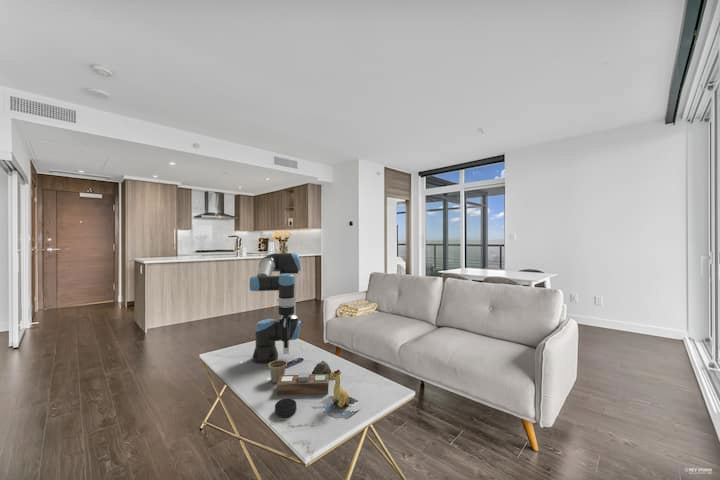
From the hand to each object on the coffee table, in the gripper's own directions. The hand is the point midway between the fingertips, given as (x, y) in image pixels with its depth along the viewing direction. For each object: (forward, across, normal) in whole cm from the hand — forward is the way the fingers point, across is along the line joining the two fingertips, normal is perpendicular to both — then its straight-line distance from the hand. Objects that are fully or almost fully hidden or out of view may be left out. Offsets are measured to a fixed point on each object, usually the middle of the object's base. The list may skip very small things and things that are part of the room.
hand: (286, 353), depth 151 cm
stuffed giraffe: (+17, +18, +26) cm, 36 cm away
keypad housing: (+17, +2, +9) cm, 19 cm away
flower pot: (+17, -9, -6) cm, 20 cm away
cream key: (+14, +2, +1) cm, 14 cm away
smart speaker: (+17, +21, +3) cm, 28 cm away
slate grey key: (+13, +2, +9) cm, 15 cm away
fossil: (+18, -11, +17) cm, 26 cm away
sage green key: (+14, +2, +17) cm, 22 cm away
